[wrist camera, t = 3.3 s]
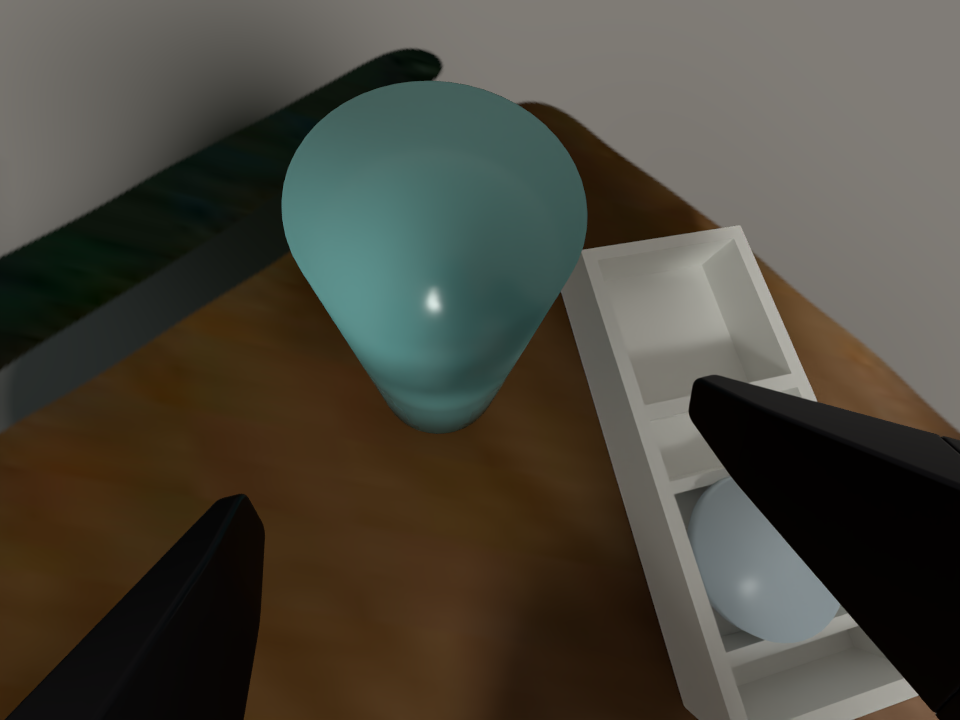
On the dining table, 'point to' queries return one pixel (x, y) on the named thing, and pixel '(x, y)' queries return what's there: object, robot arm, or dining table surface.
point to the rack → (713, 483)
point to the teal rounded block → (435, 239)
